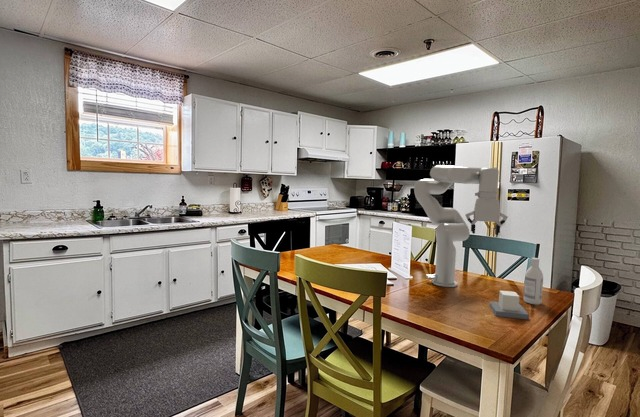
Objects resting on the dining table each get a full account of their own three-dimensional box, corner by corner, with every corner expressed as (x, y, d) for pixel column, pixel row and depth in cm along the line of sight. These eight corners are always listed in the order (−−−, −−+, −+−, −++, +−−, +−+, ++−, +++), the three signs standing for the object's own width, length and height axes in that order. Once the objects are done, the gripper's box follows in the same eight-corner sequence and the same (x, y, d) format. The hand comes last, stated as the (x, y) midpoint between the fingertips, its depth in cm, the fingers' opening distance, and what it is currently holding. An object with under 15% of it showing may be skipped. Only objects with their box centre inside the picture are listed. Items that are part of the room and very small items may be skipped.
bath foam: (535, 299, 164) (538, 256, 162) (544, 305, 157) (548, 260, 155) (520, 299, 164) (523, 256, 162) (528, 304, 157) (532, 260, 155)
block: (502, 309, 145) (503, 294, 145) (498, 304, 151) (499, 290, 151) (518, 310, 144) (519, 296, 143) (514, 305, 150) (515, 291, 149)
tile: (495, 315, 143) (495, 311, 143) (489, 305, 155) (489, 301, 155) (528, 319, 140) (529, 314, 140) (519, 308, 152) (520, 304, 152)
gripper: (468, 195, 157) (465, 233, 159) (511, 197, 153) (508, 236, 155) (465, 194, 164) (463, 231, 166) (506, 196, 160) (503, 233, 162)
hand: (484, 233), depth 160 cm, fingers open, 9 cm apart
